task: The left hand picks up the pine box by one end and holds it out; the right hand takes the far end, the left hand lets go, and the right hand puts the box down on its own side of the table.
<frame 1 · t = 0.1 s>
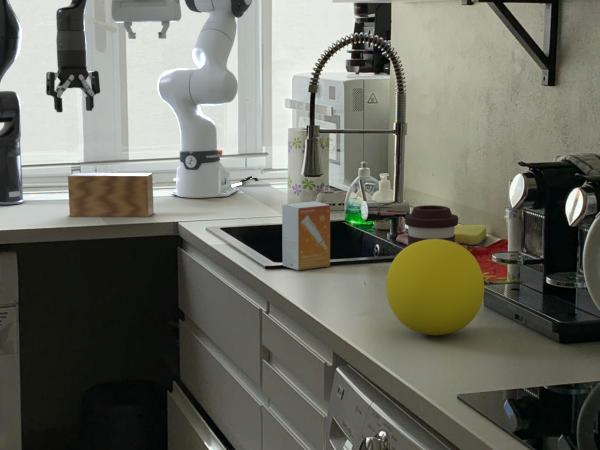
left hand: (74, 111, 273), 29 cm above the worktop, tool pointing down, fingers open, 8 cm apart
right hand: (147, 38, 289), 48 cm above the worktop, tool pointing down, fingers open, 8 cm apart
box: (112, 214, 288), on the worktop
toy: (434, 334, 165), on the worktop
coffee cup: (430, 287, 198), on the worktop
small box: (306, 267, 217), on the worktop
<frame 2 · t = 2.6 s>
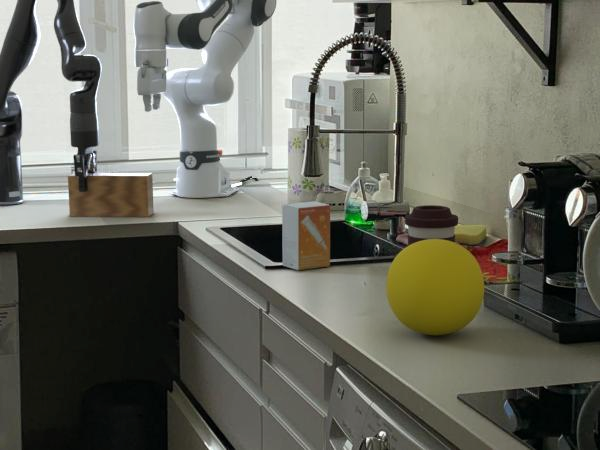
left hand: (87, 189, 288), 7 cm above the worktop, tool pointing down, fingers closed on box, 6 cm apart
right hand: (152, 110, 294), 28 cm above the worktop, tool pointing down, fingers open, 8 cm apart
box: (112, 214, 288), on the worktop, touching left hand
everything else where it was.
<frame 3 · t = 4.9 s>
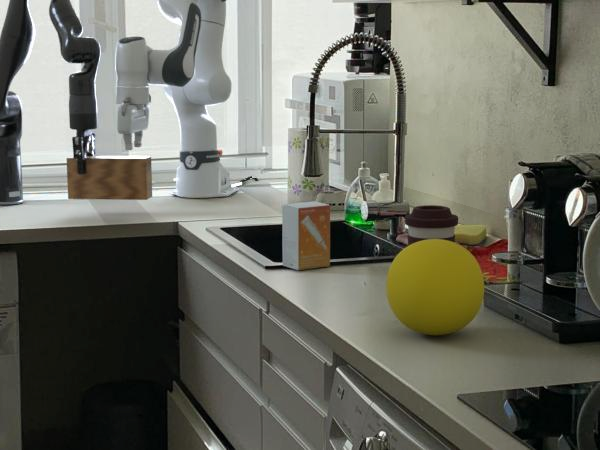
left hand: (85, 172, 287), 12 cm above the worktop, tool pointing down, fingers closed on box, 6 cm apart
right hand: (133, 148, 285), 18 cm above the worktop, tool pointing down, fingers open, 8 cm apart
box: (110, 197, 288), point 5 cm above the worktop, touching left hand
everything else where it was.
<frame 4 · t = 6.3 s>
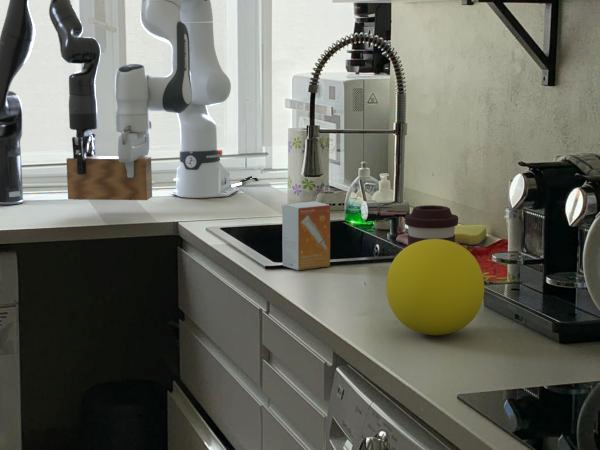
left hand: (85, 172, 287), 12 cm above the worktop, tool pointing down, fingers closed on box, 6 cm apart
right hand: (134, 175, 286), 11 cm above the worktop, tool pointing down, fingers closed on box, 6 cm apart
box: (110, 198, 288), point 5 cm above the worktop, touching left hand, right hand
everything else where it was.
when the left hand's fingers open (12 cm above the worktop, at t = 7.4 s): box stays where it is, held by the right hand.
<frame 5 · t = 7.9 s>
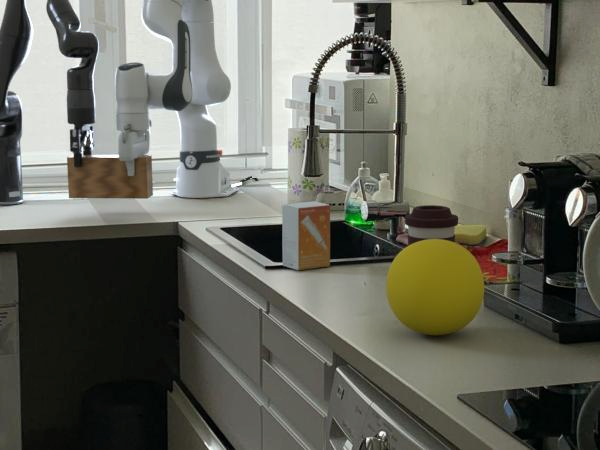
left hand: (83, 165, 287), 14 cm above the worktop, tool pointing down, fingers open, 8 cm apart
right hand: (135, 173, 286), 11 cm above the worktop, tool pointing down, fingers closed on box, 6 cm apart
box: (111, 196, 288), point 5 cm above the worktop, touching right hand
everything else where it was.
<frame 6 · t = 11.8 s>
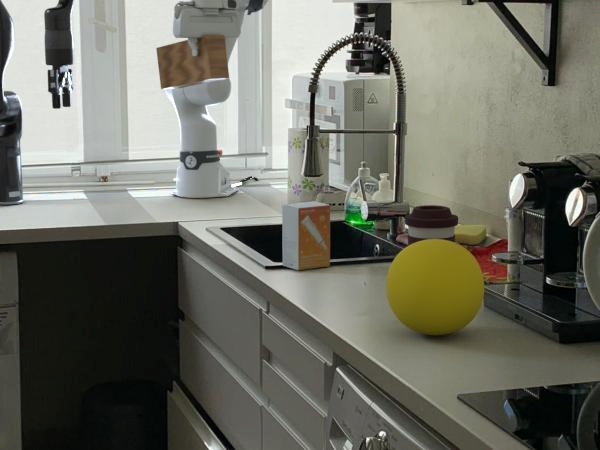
left hand: (62, 107, 285), 29 cm above the worktop, tool pointing down, fingers open, 8 cm apart
right hand: (207, 55, 273), 43 cm above the worktop, tool pointing down, fingers closed on box, 6 cm apart
box: (194, 83, 279), point 36 cm above the worktop, tilted 8°, touching right hand
everything else where it was.
when the right hand's fingers open (7 cm above the worktop, at t = 17.5 s): box stays where it is, on the worktop.
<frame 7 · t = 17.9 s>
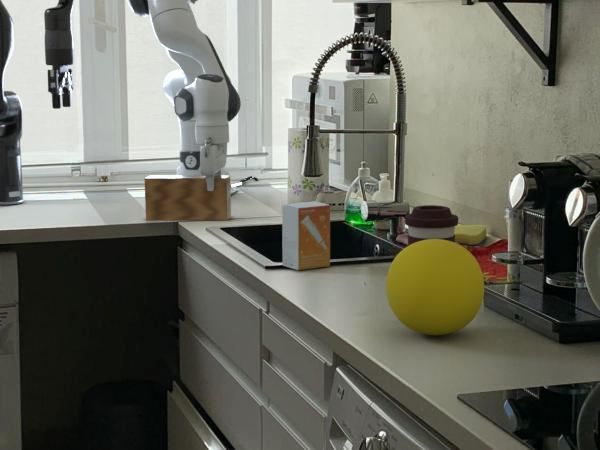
left hand: (62, 107, 285), 29 cm above the worktop, tool pointing down, fingers open, 8 cm apart
right hand: (214, 188, 279), 8 cm above the worktop, tool pointing down, fingers open, 8 cm apart
box: (188, 218, 281), on the worktop
everything else where it was.
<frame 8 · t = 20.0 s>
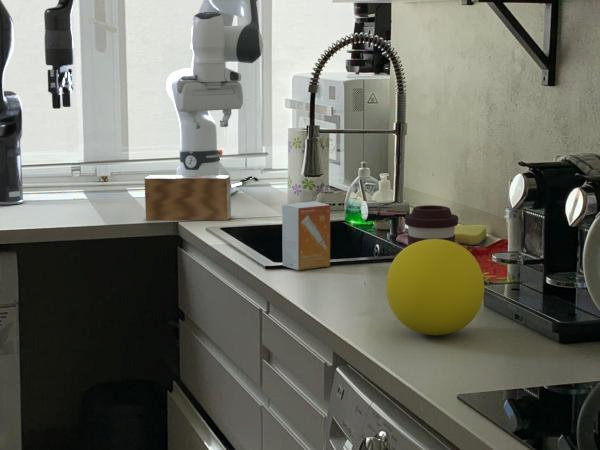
left hand: (62, 107, 285), 29 cm above the worktop, tool pointing down, fingers open, 8 cm apart
right hand: (210, 127, 276), 24 cm above the worktop, tool pointing down, fingers open, 8 cm apart
nothing on the worktop moved.
at the end: box inside the target area (6.5 cm from its centre), on the worktop; the left hand is holding nothing; the right hand is holding nothing; box at rest at the end (0.0 cm/s) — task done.
